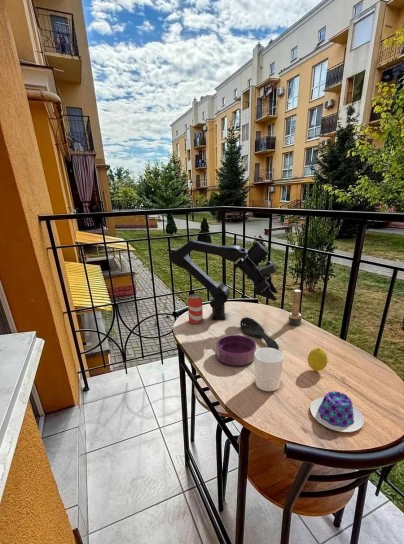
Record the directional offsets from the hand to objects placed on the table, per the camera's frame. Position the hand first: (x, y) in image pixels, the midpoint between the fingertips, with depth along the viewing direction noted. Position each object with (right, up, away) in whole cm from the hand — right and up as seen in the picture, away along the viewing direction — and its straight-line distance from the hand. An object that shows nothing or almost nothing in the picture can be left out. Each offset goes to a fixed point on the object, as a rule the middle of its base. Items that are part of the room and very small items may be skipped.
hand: (276, 296), depth 117 cm
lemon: (+4, -24, -31) cm, 39 cm away
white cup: (-12, -27, -36) cm, 46 cm away
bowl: (-20, -21, -21) cm, 36 cm away
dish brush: (+8, -11, +2) cm, 14 cm away
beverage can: (-34, -11, +7) cm, 37 cm away
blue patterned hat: (+2, -31, -48) cm, 57 cm away
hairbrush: (-9, -16, -8) cm, 20 cm away
